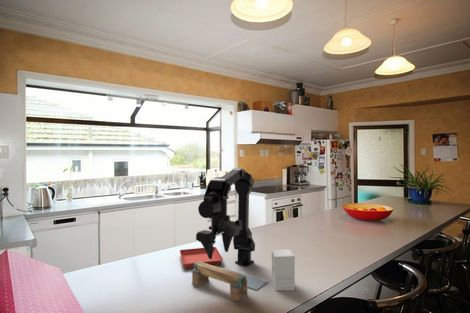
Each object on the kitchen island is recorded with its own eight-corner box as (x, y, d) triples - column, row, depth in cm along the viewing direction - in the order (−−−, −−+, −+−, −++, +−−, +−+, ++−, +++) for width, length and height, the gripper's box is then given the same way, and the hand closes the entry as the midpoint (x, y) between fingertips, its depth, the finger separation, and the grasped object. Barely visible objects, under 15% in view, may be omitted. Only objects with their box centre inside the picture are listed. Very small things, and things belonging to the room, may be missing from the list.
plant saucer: (182, 271, 116) (182, 263, 116) (179, 256, 134) (179, 249, 134) (223, 267, 121) (223, 259, 121) (215, 253, 138) (215, 246, 138)
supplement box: (290, 281, 107) (290, 249, 107) (295, 290, 99) (295, 256, 99) (271, 281, 106) (271, 249, 106) (274, 291, 99) (274, 256, 99)
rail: (199, 269, 108) (199, 261, 108) (246, 284, 95) (246, 275, 95) (194, 271, 105) (194, 263, 105) (241, 288, 93) (241, 279, 93)
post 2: (240, 291, 98) (240, 277, 98) (247, 294, 97) (247, 279, 97) (230, 298, 93) (230, 283, 93) (237, 301, 92) (237, 285, 92)
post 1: (202, 278, 109) (203, 265, 109) (208, 280, 107) (208, 267, 107) (192, 283, 104) (192, 270, 104) (198, 286, 102) (198, 272, 102)
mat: (219, 267, 119) (219, 266, 119) (267, 282, 105) (267, 281, 105) (206, 273, 113) (206, 272, 113) (256, 290, 99) (256, 289, 99)
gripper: (220, 220, 88) (219, 268, 88) (251, 211, 103) (250, 252, 103) (195, 215, 95) (194, 261, 95) (227, 208, 110) (227, 247, 110)
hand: (218, 255), depth 100 cm, fingers open, 9 cm apart
